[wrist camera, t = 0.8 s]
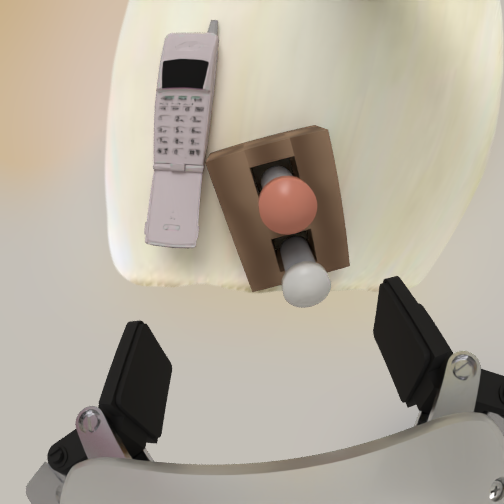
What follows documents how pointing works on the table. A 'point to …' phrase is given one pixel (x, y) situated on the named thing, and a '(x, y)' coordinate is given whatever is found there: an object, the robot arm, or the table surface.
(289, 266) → the white light bulb
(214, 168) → the block
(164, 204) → the mobile phone
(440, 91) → the table surface
